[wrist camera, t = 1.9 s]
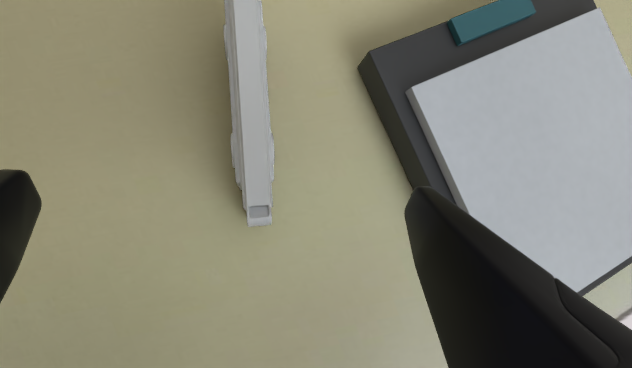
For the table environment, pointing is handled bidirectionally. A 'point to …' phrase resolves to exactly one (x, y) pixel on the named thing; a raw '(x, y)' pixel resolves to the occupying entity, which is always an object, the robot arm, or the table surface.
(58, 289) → the table surface
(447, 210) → the robot arm
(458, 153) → the scale
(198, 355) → the table surface
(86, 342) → the table surface
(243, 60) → the cassette
